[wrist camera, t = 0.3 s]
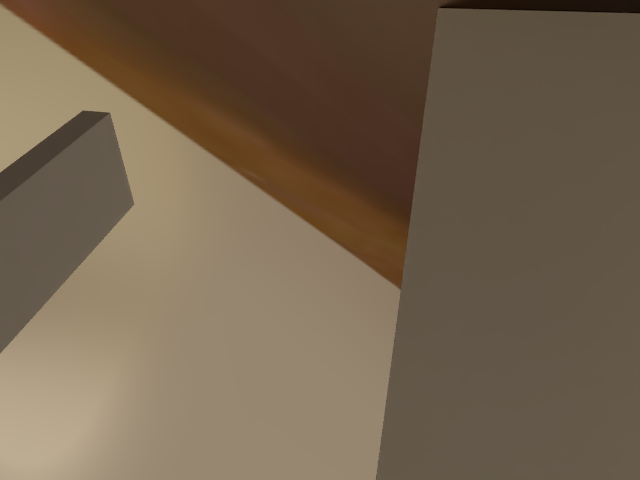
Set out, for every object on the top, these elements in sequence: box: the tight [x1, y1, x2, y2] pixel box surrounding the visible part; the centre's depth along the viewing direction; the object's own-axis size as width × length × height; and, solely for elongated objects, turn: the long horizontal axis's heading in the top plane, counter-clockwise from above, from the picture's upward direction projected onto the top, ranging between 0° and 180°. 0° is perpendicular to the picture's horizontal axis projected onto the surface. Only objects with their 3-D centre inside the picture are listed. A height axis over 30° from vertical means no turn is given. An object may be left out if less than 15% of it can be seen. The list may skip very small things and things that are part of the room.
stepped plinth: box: [376, 8, 640, 480], centre depth 29 cm, size 21×18×30 cm
